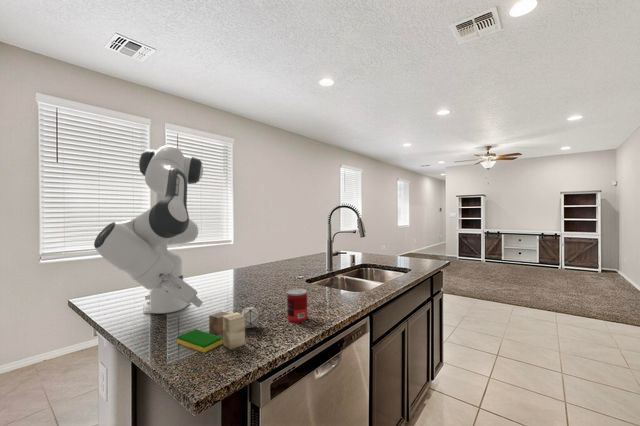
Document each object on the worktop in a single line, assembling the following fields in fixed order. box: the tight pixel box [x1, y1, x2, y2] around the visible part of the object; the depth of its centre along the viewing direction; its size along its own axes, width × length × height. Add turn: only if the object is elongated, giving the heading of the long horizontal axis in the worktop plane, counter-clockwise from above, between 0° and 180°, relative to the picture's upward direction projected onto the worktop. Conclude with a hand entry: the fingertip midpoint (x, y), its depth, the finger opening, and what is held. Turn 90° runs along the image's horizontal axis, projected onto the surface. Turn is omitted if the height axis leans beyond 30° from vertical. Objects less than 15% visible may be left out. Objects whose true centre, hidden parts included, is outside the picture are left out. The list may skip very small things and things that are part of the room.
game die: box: [240, 304, 263, 330], centre depth 105 cm, size 9×8×10 cm
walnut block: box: [208, 310, 230, 336], centre depth 103 cm, size 5×5×6 cm
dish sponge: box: [176, 328, 223, 353], centre depth 94 cm, size 7×14×2 cm, turn 59°
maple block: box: [222, 312, 246, 350], centre depth 93 cm, size 5×5×9 cm
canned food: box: [286, 288, 308, 324], centre depth 114 cm, size 8×8×11 cm
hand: (194, 301), depth 84 cm, fingers open, 8 cm apart
